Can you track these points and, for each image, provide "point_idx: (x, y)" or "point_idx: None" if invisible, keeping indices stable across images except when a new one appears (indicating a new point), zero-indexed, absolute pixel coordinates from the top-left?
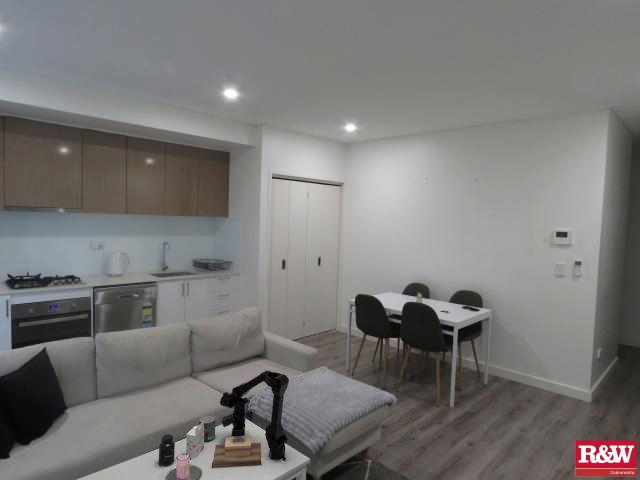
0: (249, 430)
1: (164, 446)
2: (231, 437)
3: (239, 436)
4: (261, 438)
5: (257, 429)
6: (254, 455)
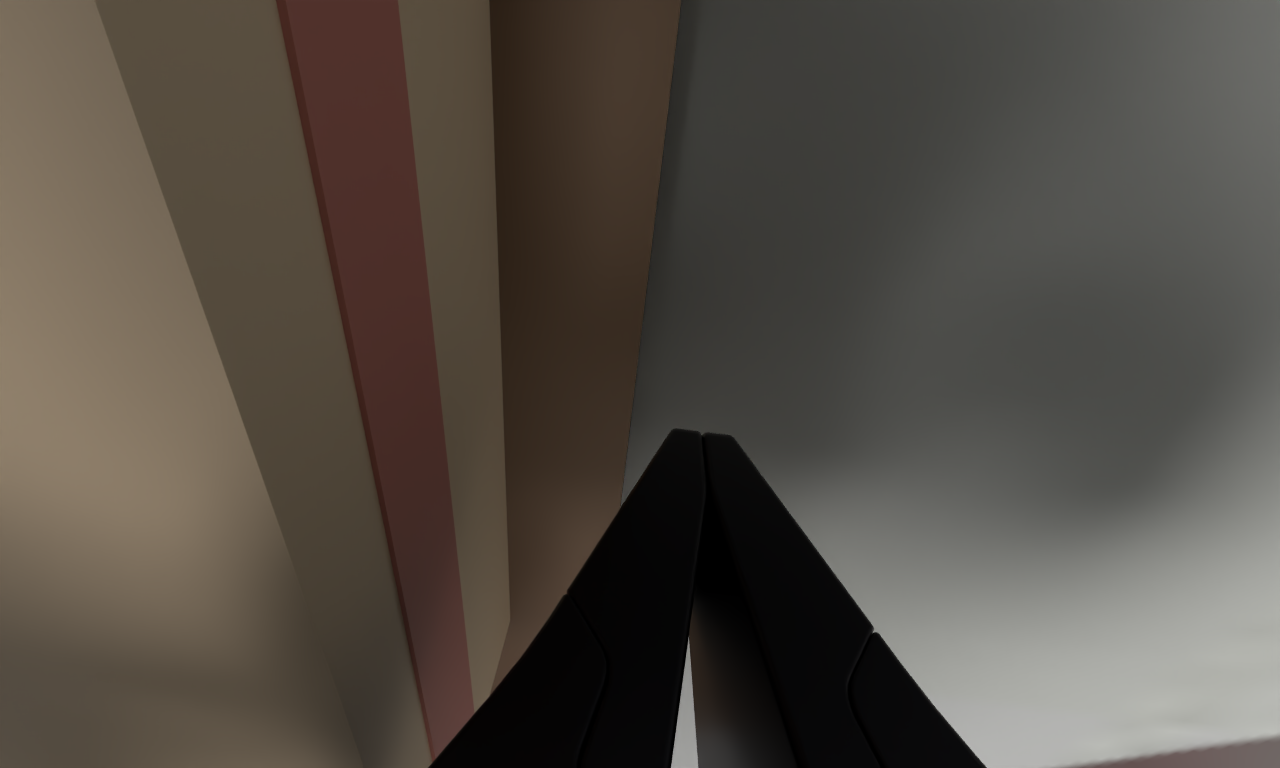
0: (1272, 646)
1: None
2: (23, 385)
3: (303, 745)
4: None
5: (1182, 743)
6: None
